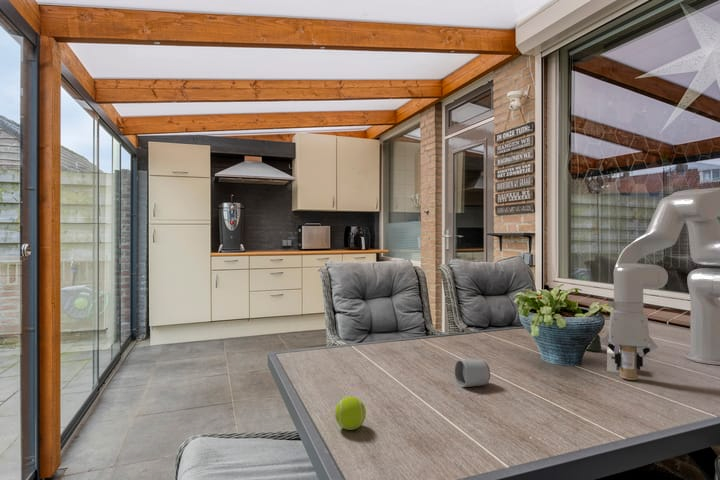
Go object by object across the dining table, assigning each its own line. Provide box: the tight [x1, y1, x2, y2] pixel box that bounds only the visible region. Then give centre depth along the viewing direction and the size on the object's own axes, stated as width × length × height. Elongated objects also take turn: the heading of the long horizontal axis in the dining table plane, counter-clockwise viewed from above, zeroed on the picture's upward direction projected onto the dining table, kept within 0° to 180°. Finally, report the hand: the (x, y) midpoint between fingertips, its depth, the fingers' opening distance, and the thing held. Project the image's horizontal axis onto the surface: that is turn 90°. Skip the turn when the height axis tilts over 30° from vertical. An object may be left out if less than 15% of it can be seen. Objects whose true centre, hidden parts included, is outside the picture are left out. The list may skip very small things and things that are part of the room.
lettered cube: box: [606, 347, 620, 374], centre depth 138 cm, size 6×6×6 cm
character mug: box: [587, 329, 604, 352], centre depth 161 cm, size 11×7×13 cm, turn 116°
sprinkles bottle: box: [619, 345, 638, 381], centre depth 129 cm, size 5×5×13 cm
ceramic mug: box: [454, 358, 491, 388], centre depth 126 cm, size 11×8×8 cm
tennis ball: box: [334, 396, 367, 431], centre depth 97 cm, size 7×7×7 cm
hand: (628, 366), depth 129 cm, fingers closed on sprinkles bottle, 4 cm apart
